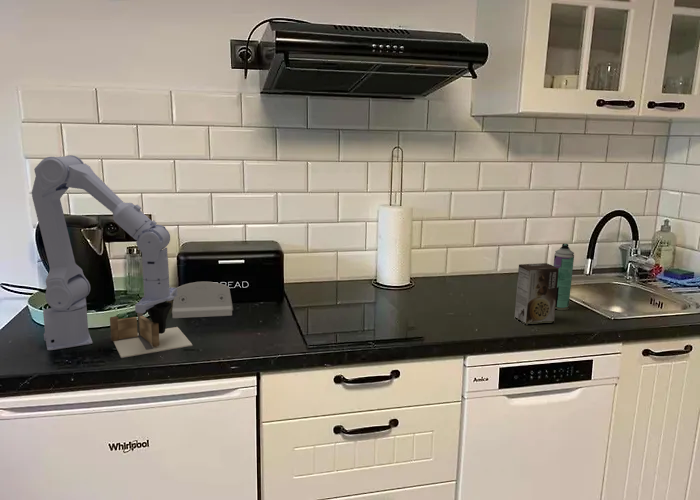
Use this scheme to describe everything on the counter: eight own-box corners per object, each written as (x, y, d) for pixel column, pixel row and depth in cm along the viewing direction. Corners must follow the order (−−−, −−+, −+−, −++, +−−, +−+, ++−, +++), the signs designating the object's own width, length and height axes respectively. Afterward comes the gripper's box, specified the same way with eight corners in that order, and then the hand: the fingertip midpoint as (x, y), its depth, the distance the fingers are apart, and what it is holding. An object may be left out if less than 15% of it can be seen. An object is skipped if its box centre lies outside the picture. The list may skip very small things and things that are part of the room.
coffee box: (541, 316, 161) (546, 262, 158) (554, 324, 155) (560, 267, 152) (513, 318, 159) (518, 263, 156) (525, 325, 153) (530, 269, 149)
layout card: (121, 357, 124) (121, 356, 124) (111, 338, 136) (111, 336, 136) (192, 345, 133) (192, 344, 132) (177, 328, 144) (177, 326, 144)
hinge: (171, 318, 152) (170, 281, 153) (172, 318, 156) (172, 283, 158) (233, 315, 155) (232, 279, 157) (233, 315, 160) (232, 281, 161)
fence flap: (137, 334, 137) (135, 313, 136) (143, 333, 138) (142, 311, 137) (153, 347, 129) (152, 324, 128) (160, 346, 130) (159, 323, 129)
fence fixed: (111, 341, 133) (110, 319, 132) (110, 339, 134) (109, 317, 133) (138, 337, 136) (136, 315, 135) (136, 335, 138) (135, 313, 136)
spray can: (564, 305, 172) (571, 242, 168) (571, 311, 167) (578, 246, 163) (546, 305, 172) (553, 242, 168) (552, 310, 167) (559, 245, 163)
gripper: (153, 287, 122) (157, 345, 125) (187, 271, 136) (189, 324, 139) (125, 284, 124) (129, 342, 126) (161, 269, 137) (164, 321, 140)
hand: (159, 332), depth 133 cm, fingers closed, pressing on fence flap
